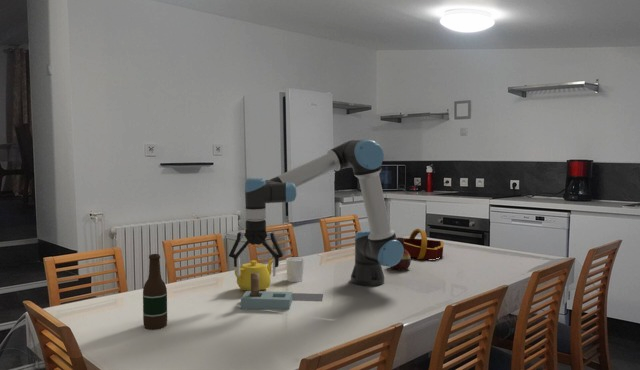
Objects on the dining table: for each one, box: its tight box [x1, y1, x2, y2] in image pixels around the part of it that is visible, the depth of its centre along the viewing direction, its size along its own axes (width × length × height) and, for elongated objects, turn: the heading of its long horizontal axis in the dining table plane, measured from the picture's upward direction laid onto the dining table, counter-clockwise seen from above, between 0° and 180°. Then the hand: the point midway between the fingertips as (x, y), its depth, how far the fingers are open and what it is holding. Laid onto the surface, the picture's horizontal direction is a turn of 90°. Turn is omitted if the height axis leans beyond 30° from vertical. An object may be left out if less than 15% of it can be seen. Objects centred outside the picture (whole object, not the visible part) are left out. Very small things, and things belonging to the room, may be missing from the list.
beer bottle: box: [142, 253, 168, 331], centre depth 168 cm, size 8×8×24 cm
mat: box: [292, 292, 324, 302], centre depth 202 cm, size 14×10×1 cm
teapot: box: [234, 258, 273, 292], centre depth 213 cm, size 13×20×12 cm
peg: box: [251, 273, 260, 297], centre depth 192 cm, size 3×3×12 cm
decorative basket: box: [403, 228, 444, 260], centre depth 290 cm, size 34×29×15 cm
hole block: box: [240, 290, 293, 311], centre depth 192 cm, size 18×10×4 cm, turn 87°
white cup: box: [285, 256, 305, 283], centre depth 228 cm, size 8×8×10 cm
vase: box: [390, 237, 412, 271], centre depth 254 cm, size 11×11×15 cm
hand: (256, 275), depth 192 cm, fingers open, 13 cm apart
